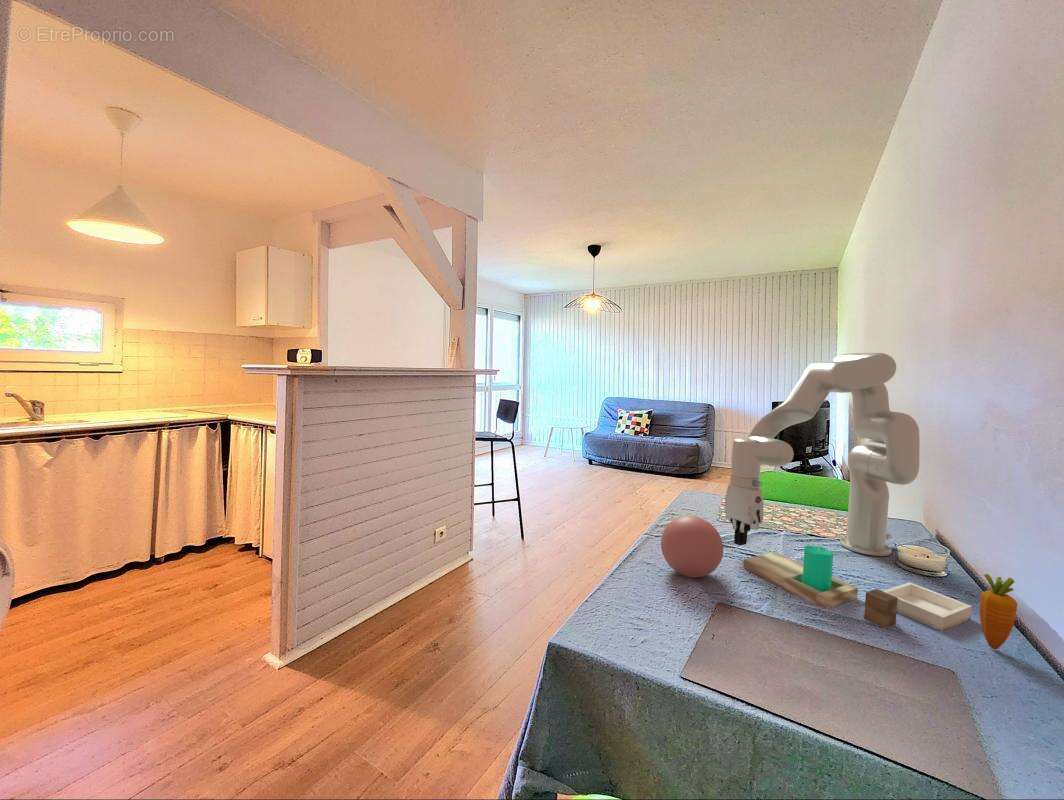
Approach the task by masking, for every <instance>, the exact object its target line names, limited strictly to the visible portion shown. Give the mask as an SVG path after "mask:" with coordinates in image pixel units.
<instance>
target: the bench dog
mask: <svg viewBox="0 0 1064 800" xmlns="http://www.w3.org/2000/svg"><path fill="white" fill-rule="evenodd" d="M883 591H884V590H881V589H879V588H875V589H873V590H869V591H865V597H864V598H865V600H864V602H865V603H864V610H863V611H864V612H863V620H866V621H868V622H870V623H872V624H874V625H876V626H878V627H880V628H882V629H888V628H889V627H893V626H896V623H897V613H898V612H897V601H898V597H895V596H893V595H891V594H888V593H886V592H883ZM887 627H888V628H887Z"/></svg>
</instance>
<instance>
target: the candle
mask: <svg viewBox="0 0 1064 800" xmlns="http://www.w3.org/2000/svg"><path fill="white" fill-rule="evenodd" d="M833 563H834V552H833V550H829V549H827V548H824V547H823V546H820V545H818V546H817V545H809V544H807V545H806V546H804V549H803V563H802V564H803V577H802V583H804V584H806V585H808V586H810V587H812V588H814V589H816V590H818V591H821V592H825V591H828V590H831V581H832V577H833V565H834V564H833Z"/></svg>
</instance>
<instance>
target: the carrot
mask: <svg viewBox="0 0 1064 800" xmlns="http://www.w3.org/2000/svg"><path fill="white" fill-rule="evenodd" d="M983 576H984V577H985V579H986V580H987V582H988V584H989V585H990V589H987V590H984V591H982V592H981V594H980V596H979V597H980V599H979V621H980V626H981V630H982V633H983V636H984V639H985V640H986V642H987V644H988V646H989V647H990V648H991V649H992V648H993V649H995V650H999V648H1000V647H1001V646H1002V645H1004V643H1005V642H1006V641H1007V640H1008V638H1010V636H1011V635H1010V634H1011V632H1012V629H1013V627H1014V625H1015V621H1016V615H1017V609H1018V601H1017V600H1015V598H1013V597H1012V596H1011V595H1009V594H1008V593H1010V592H1012V591H1014V590H1015V589H1014V588H1013V587H1011V586H1012V585H1013V584H1014V583H1015V582H1016V581H1015V580H1014V578H1012V577H1008V578H1007V579H1006V580H1005V581H1004V580H1002V577H1001V576H996V580H995V581H996V582H995V583H994V580H993V579H992V576H991V575H990V574H988V573H984V574H983ZM993 649H992V650H993Z"/></svg>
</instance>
